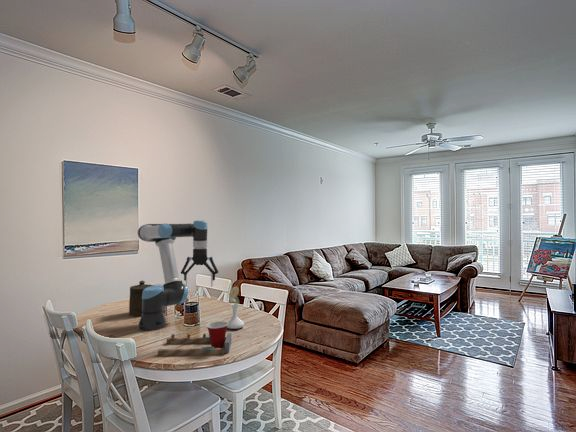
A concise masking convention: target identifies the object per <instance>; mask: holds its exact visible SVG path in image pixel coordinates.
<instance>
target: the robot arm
mask: <svg viewBox="0 0 576 432" xmlns="http://www.w3.org/2000/svg"><path fill="white" fill-rule="evenodd" d="M137 236H138V238H139V239H140V240H141V241H144V242H147V243H149V242H150V243H152V242H153V243H155V246H156V247H157V248H158V249H159V250H158V251H159V255H160V256H159V257H160V261H161V267H162V274H163V279H164V283H163V284H156V285H153V286H150V287H147V288H145V289H144V290H143V293H142V316H140V319H139V321H138V322H139V323H138V329H139V330H141V331H157V330H160V329H163V328H165V327H166V325H167V320H166V317H165V313H164V307H169V306H175V305H180V304H184V303H185V302H186V300H188V295H189V288H188V287H189V277H190V276H189V275H190V274H189V272H190V271H191V270H192V268H194V266H199V265H200V266H203V265H204V266H205V267H206V269H207V270H208V271H209V272H210V273H211V274H210V287H211V288H212V287H213V286H214V281H215V280H216V275H217V274H219V269H218V268H217V265H216V264H215V262H214V258H213V256H209V257H208V249H207V248H208V222H207V220H194V221H193V223H148V224H147V223H146V224H145V223H144V224H143V225H141V226H140V227H139V228H138V230H137ZM177 238H192V248H193V249H192V256H191V257H190V256H187V258H186V261H185V263H184V265H183V268H182V269H181V271H180V275H182V274H183V280H184V281H185V283H183V280H181V279H180V277H179V272H178V266H177V261H176V256H175V250H174V246H173V244H174V243H175V240H176V239H177ZM191 260H192V261H193V263H191V265H190V266H189V267H188V265H189V263H190V262H191ZM208 261H209V262H210V264H211V266H210V264H209V263H208ZM187 267H188V268H187Z"/></svg>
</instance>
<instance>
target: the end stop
mask: <svg viewBox="0 0 576 432" xmlns="http://www.w3.org/2000/svg"><path fill="white" fill-rule="evenodd" d="M225 337H226V340H225V343H224V348H225V354H229V353H230V350H231V345H232V332H226V336H225Z"/></svg>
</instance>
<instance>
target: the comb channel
mask: <svg viewBox="0 0 576 432" xmlns="http://www.w3.org/2000/svg"><path fill="white" fill-rule="evenodd" d="M175 335H176V334H175V333H172V334H171V335H170V336H171V337H167V338H166V344H167V345H170V344H171V345H176V344H211V342H210V336H209V335H207V334H206V333H203V334H202V337H201V336H200V337H191V333H187V334H186V335H187V336H186V337H176V336H175ZM226 337H227V336H225V340H226ZM224 344H225V341H224ZM225 354H226V353H225V347H223V348H214V347H211V346H201V347H200V348H165V349H164V348H163V349H161V348H159V349H157V356H158V357H159V356H160V357H161V356H162V357H164V356H165V357H166V356H170V357H171V356H172V357H173V356H204V355H206V356H209V355H211V356H213V355H225Z"/></svg>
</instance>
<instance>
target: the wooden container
mask: <svg viewBox="0 0 576 432" xmlns="http://www.w3.org/2000/svg"><path fill="white" fill-rule="evenodd" d="M145 283H146V282H145V281H144V280H140V281H139V282H138V284H137V285H135V284H134V285H131V286H130V287H129V303H128V307H129V310H128V315H129V316H131V317H134V318H135V317H137V318H138V317H140V318H141V316H142V293H143V290H144V289H145V288H147V287H150V286H154V285H153V284H147V283H146V284H145Z"/></svg>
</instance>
